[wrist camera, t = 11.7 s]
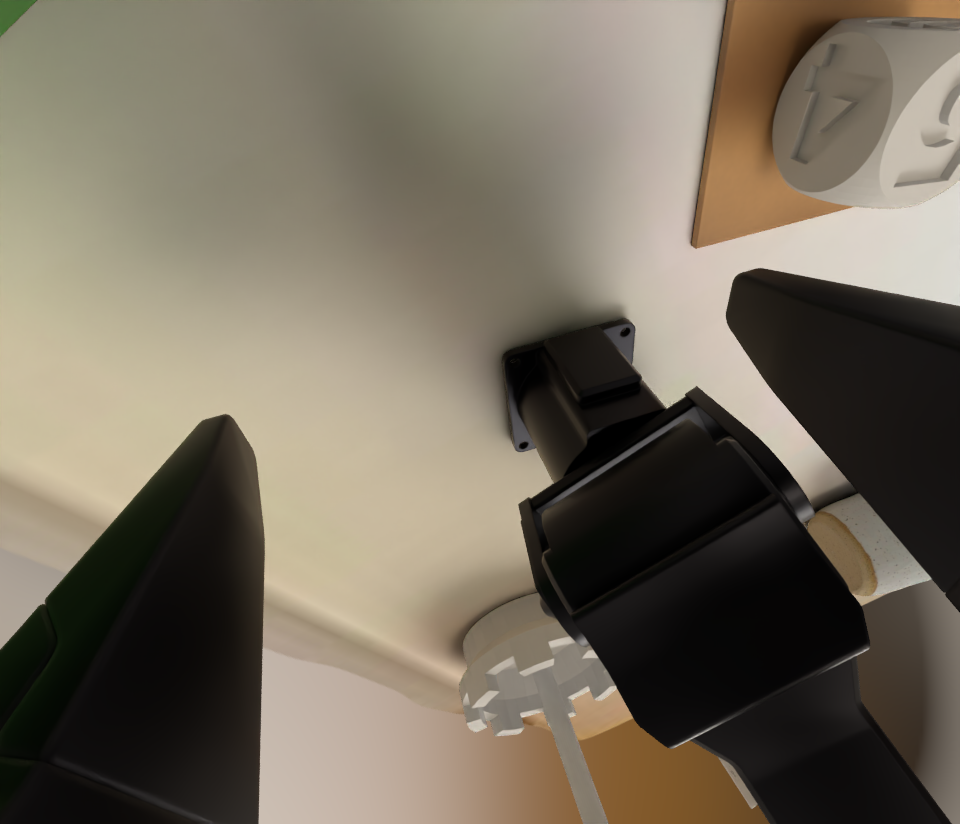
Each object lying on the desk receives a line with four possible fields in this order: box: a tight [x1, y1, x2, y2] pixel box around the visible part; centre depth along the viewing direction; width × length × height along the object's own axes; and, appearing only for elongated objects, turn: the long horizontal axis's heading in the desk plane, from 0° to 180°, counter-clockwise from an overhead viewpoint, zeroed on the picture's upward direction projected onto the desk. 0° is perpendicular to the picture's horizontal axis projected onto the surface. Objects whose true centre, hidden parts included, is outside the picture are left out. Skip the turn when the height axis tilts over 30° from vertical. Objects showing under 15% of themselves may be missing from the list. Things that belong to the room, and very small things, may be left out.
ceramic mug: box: [808, 493, 931, 596], centre depth 42 cm, size 11×8×8 cm
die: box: [772, 17, 960, 209], centre depth 18 cm, size 5×5×5 cm
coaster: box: [691, 0, 960, 249], centre depth 20 cm, size 10×10×1 cm
